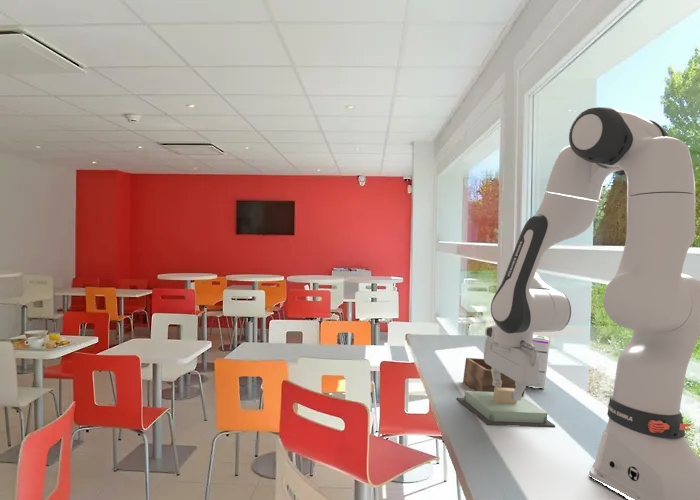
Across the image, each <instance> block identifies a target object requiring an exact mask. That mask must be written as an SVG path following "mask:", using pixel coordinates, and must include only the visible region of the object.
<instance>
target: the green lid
mask: <svg viewBox="0 0 700 500" xmlns="http://www.w3.org/2000/svg"><path fill="white" fill-rule="evenodd" d="M514 390H515V389H514V388H498V387H495V388H494V392H482V391H474V390H464V391H465V392H464V397H463V398H464V400H465V401H466V402H468V403H469V404H470V405H471V406H472V407H474V408H475V409H476V410H477V411H479V412H480V413H481V414H482V415H483V416H485V417H486V418H487V419H488V420H490V421H502V422H534V423H546V421H547V420H548V412H547V411H545V410H543V409H542V408H540V407H539V406H537V405H536V404H534V403H532V402H531V401H529V400H528V399H526V398H525V397H524V396H523V397H521V400H520V401H515V400H514V399H512V398H511V395H512V391H514Z"/></svg>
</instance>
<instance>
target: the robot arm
mask: <svg viewBox="0 0 700 500" xmlns="http://www.w3.org/2000/svg"><path fill="white" fill-rule="evenodd" d="M569 129H570V130H569V133H568V141H569V142H568V143H569V145H567V146H565V147H563V148H562V149H561V150H560V152H559V153H558V155H557V158H556V159H555V161H554V164H553V167H552V169H551V171H550V175H549V177H548V182H547V184H546V188H545V193H544V195H543V199H542V201H541V203H540V205H539V208H538V209H537V211H536V212H535V214H534V215H533V216H531V217H530V218H528V219H527V220H526V222H525V224H524V225H523V228H522V231H521V232H520V234H519V237H518V240H517V242H516V245H515V247H514V250H513V253H512V255H511V258H510V260H509V264H508V266H507V269H506V271H505V274H504V276H503V279H502V282H501V284H500V286H499V287H498V289H497V290H496V292H495V294H494V296H493V297H492V300H491V304H490V314H491V317H492V320H493V321H494V323H495V325H491V326H487V327H486V328H485V330H484V331H485V333H484V335H485V336H486V338H485V342H484V346H483V347H484V348H483V350H484V351H483V359H484V361H485V363H486V364H488V365H489V366H491V367H492V369H491V372H492V377H493V383H492V385H493V386H495V387H498V388H500V387H501V386H502V380H501V376H500V372H501V373H503V374H504V375H506V376H508V377H509V378H511V379H512V380H514V381H515V386H516V388H515V390H514V391H512V395H511V398H512V399H514V400H515V401H520V400H521V397H522V393H523V391H524V392H525V390H526V388H527V387H526V386H535V385H536V384H537V383H538V375H539V358H538V355H537V352H536V350H535V347H534V346H533V345H532V340H533V335H534V333H553V332H560V331H562V330H564V329H565V328H566V327H567V326H568V324H569V322H570V321H571V316H572V307H571V302H570V300H569V298H568V296H567V295H565V293H564V292H561V291H558V290H557V289H555V288H553V287H551V286H550V285H548V284H547V283H545V281H544V280H542V278H541V277H540V274H539V273H538V272H537V269H538V267H539V265H540V262H541V260H542V257H543V255H544V254H545V253H546V251H547V250H549V249H550V248H551V247H553V246H554V245H556V244H559V243H561V242H563V241H566V240H570V239H573V238H575V237H577V236H579V235H581V234H583V233H584V232H586V231H587V230H589V228H590V227H591V225H592V223H593V221H594V219H595V217H596V214H597V210H598V207H599V203H600V199H601V195H602V189H603V186H604V183H605V180H606V179H607V178H608V177H609V176H610V175H611V174H613V173H615V174H617V175H618V176H625V175H626V180H627V182H626V183H627V190H626V191H627V194H626V198H627V199H626V235H625V244H624V247H623V253H622V256H621V259H620V263H619V266H618V268H617V271H616V274H615V276H614V277H613V278H612V279H611V281H610V282H609V283H608V284H607V286H606V287H605V290H604V293H603V297H602V298H603V299H602V301H603V307H604V310H605V312H606V314H607V316H608V317H609V318H610V320H611V321H612V322H613V323H615V324H616V325H618V326H620V327H623V328H624V329H627V330H630V331H633V334H632V335H631V338H630V340H629V341H628V344H627V345H626V347H625V348H624V350H623V351H621V353H620V355H619V357H618V359H617V363H616V372H615V378H614V386H613V391H612V392H613V393H612V396H610V398H609V401H608V405H607V417H608V422H607V424H606V426H605V428H604V429H603V430H604V431H603V432H602V434H601V438H600V442H599V446H598V449H597V454H596V457H595V460H594V462H593V465H592V468H591V469H590V470H589V473H588V476H589V475H590V476H591V477H593V478H595V479H597V480H599V481H601V482H603V483H605V484H607V485H609V486H611V487H613V488H615V489H617V490H619V491H620V492H622V493H624V494H626V495H627V496H629V497H631V498H633V499H635V500H700V459H699V457H698V455H696V453H695V451H694V449H693V448H692V447H691V446H690V444H689V443H688V441H687V440H686V438H685V436H686V432H685V431H691V430H692V429H690V428H689V427H692V424H691V423H684V419H683V415H682V413H681V411H680V410H681V402H682V398H683V390H684V385H685V378H686V373H687V369H688V366H689V363H690V360H691V358H692V355H693V353H694V350H695V348H696V345H697V343H698V340H699V338H700V280H699V279H697V278H695V277H693V276H691V275H689V274H685V273H683V268H684V264H685V261H686V257H687V255H688V251H689V249H690V247H691V246H692V245H693V243H694V241H695V238H696V182H695V172H694V166H693V161H692V157H691V153H690V149H689V147H688V145H687V144H686V143H685V142H684V141H682V140H681V139H678V138H676V137H671V136H670V135H669V133H668V132H667V131H666V130H665V128H664V127H663V126H662V125H661V124H659V123H658V122H656V121H653V120H651V119H650V120H649V119H646V118H644V117H641V116H639V115H637V114H635V113H633V112H629V111H626V110H625V111H624V110H620V109H614V108H611V107H608V106H597V107H591V108H587V109H586V110H584V111H582V112H581V113H579V114H578V115H577V117H576V118H574V121H573V122H572V124H571V125H570V128H569ZM533 350H534V351H533Z"/></svg>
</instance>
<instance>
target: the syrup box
mask: <svg viewBox="0 0 700 500" xmlns="http://www.w3.org/2000/svg"><path fill="white" fill-rule="evenodd" d="M550 342H551V340H550V339H549V338H548V336H545V335H542V334H541V335H540V334H533V340H532V345H533V346H534V347H535V350H536V352H537V355H538V358H539V375H538V383H537V384H536V385H535V387H542V388H544V389H545V385H546V378H547V376H546V375H547V369H548V361H549V360H548V359H549V350H550ZM533 351H534V350H533Z"/></svg>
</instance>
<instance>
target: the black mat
mask: <svg viewBox="0 0 700 500" xmlns="http://www.w3.org/2000/svg"><path fill="white" fill-rule="evenodd" d="M456 400H457V401H458V402H459V403H461V404H462V405H463V406H464V407H465V408H467V409H468V410H469V411H470V412H471V413H472V414H474V415H475V416H476V417H478V419H479V420H480V421H482V422H483V423H485V425H487V426H506V425H520V426H519V427H546V428H548V427H549V428H555V427H556V425H555V424H554V423H552V422H551V421H550V420H548V419H547V421H546V423H534V422H502V421H490V420H488V419H487V418H486V417H485V416H483V415H482V414H481V413H480V412H479V411H477V410H476V409H475V408H474V407H472V406H471V405H470V404H469V403H468V402H466V401H465V400H464V397H456Z"/></svg>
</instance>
